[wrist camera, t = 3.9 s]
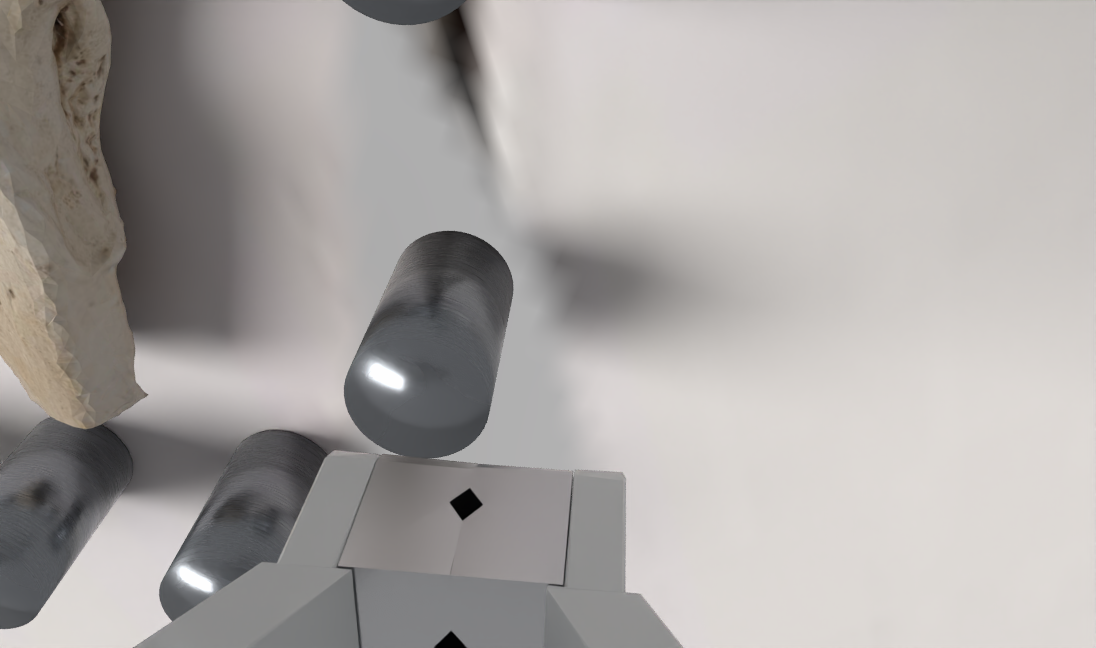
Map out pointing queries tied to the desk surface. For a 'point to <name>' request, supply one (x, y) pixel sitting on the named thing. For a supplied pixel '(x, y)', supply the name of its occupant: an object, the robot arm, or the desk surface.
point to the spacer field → (278, 456)
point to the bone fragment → (60, 215)
